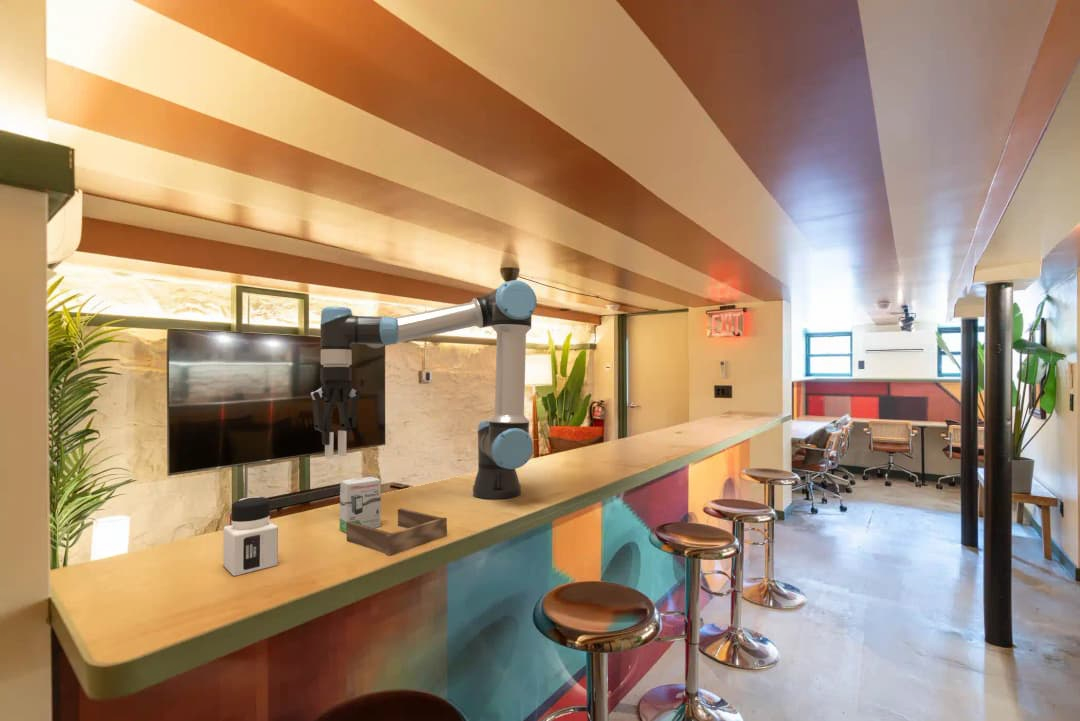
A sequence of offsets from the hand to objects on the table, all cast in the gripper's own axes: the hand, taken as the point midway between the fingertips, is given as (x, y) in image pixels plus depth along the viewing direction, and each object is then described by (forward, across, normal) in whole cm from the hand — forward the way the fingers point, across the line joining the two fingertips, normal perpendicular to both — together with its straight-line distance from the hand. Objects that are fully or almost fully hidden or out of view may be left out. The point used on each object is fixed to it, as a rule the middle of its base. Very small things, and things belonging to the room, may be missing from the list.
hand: (335, 456), depth 128 cm
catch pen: (+17, 0, +25) cm, 30 cm away
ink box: (+17, 0, +11) cm, 20 cm away
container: (+17, +27, +15) cm, 35 cm away
